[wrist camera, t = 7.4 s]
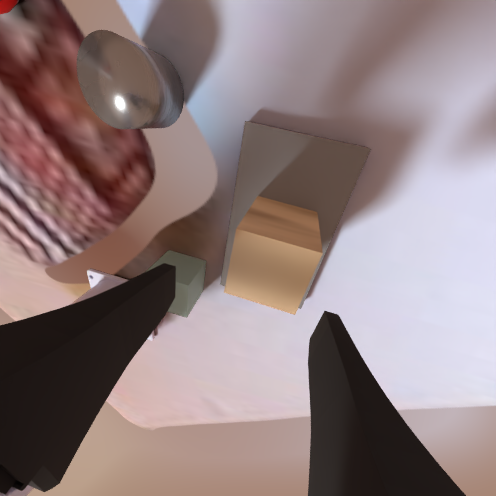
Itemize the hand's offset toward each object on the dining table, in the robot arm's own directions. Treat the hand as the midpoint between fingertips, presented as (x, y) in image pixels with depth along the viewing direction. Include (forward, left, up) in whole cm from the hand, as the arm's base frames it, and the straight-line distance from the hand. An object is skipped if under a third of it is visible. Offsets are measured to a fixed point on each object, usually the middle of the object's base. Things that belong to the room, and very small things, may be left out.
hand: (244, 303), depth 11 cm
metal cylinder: (+8, +10, -9) cm, 16 cm away
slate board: (0, -1, -9) cm, 9 cm away
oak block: (0, -1, -8) cm, 8 cm away
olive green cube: (-7, +7, -10) cm, 14 cm away
